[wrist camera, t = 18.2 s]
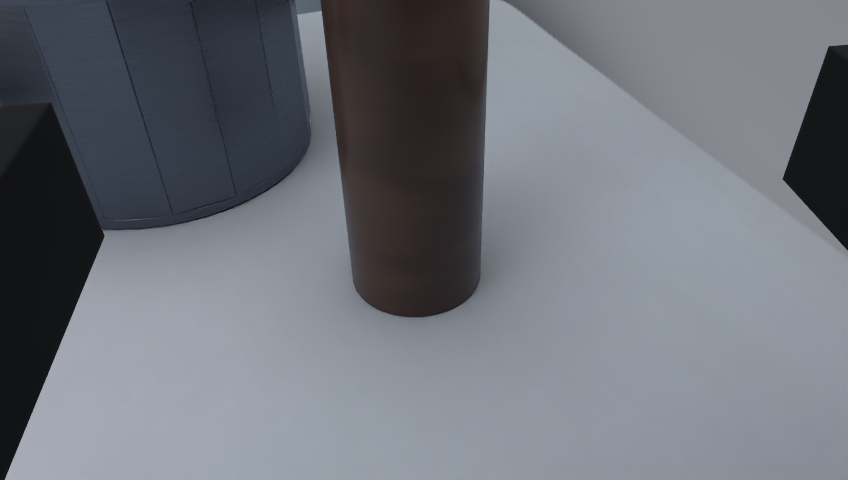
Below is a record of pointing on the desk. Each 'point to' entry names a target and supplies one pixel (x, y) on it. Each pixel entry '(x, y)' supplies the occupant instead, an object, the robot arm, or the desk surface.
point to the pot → (164, 99)
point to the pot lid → (42, 2)
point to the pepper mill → (410, 145)
